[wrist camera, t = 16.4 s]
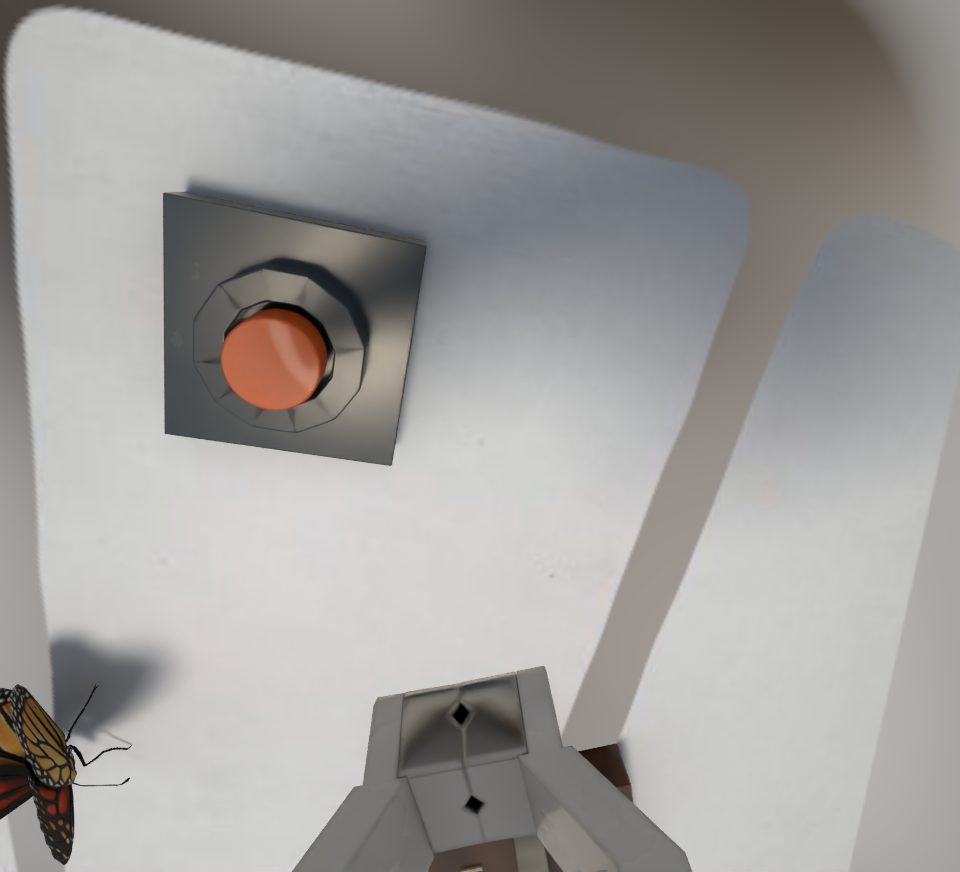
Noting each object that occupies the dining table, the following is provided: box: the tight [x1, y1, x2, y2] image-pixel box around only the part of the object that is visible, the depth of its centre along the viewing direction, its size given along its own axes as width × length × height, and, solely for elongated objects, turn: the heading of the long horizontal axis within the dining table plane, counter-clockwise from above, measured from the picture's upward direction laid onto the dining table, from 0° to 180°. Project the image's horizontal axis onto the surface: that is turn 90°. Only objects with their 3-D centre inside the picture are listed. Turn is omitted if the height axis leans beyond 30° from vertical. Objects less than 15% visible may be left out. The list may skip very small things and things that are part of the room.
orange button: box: [221, 308, 327, 410], centre depth 22 cm, size 4×4×2 cm
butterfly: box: [0, 683, 132, 865], centre depth 29 cm, size 12×10×10 cm
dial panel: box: [428, 744, 633, 872], centre depth 40 cm, size 14×10×3 cm
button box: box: [163, 192, 427, 466], centre depth 25 cm, size 10×10×4 cm
